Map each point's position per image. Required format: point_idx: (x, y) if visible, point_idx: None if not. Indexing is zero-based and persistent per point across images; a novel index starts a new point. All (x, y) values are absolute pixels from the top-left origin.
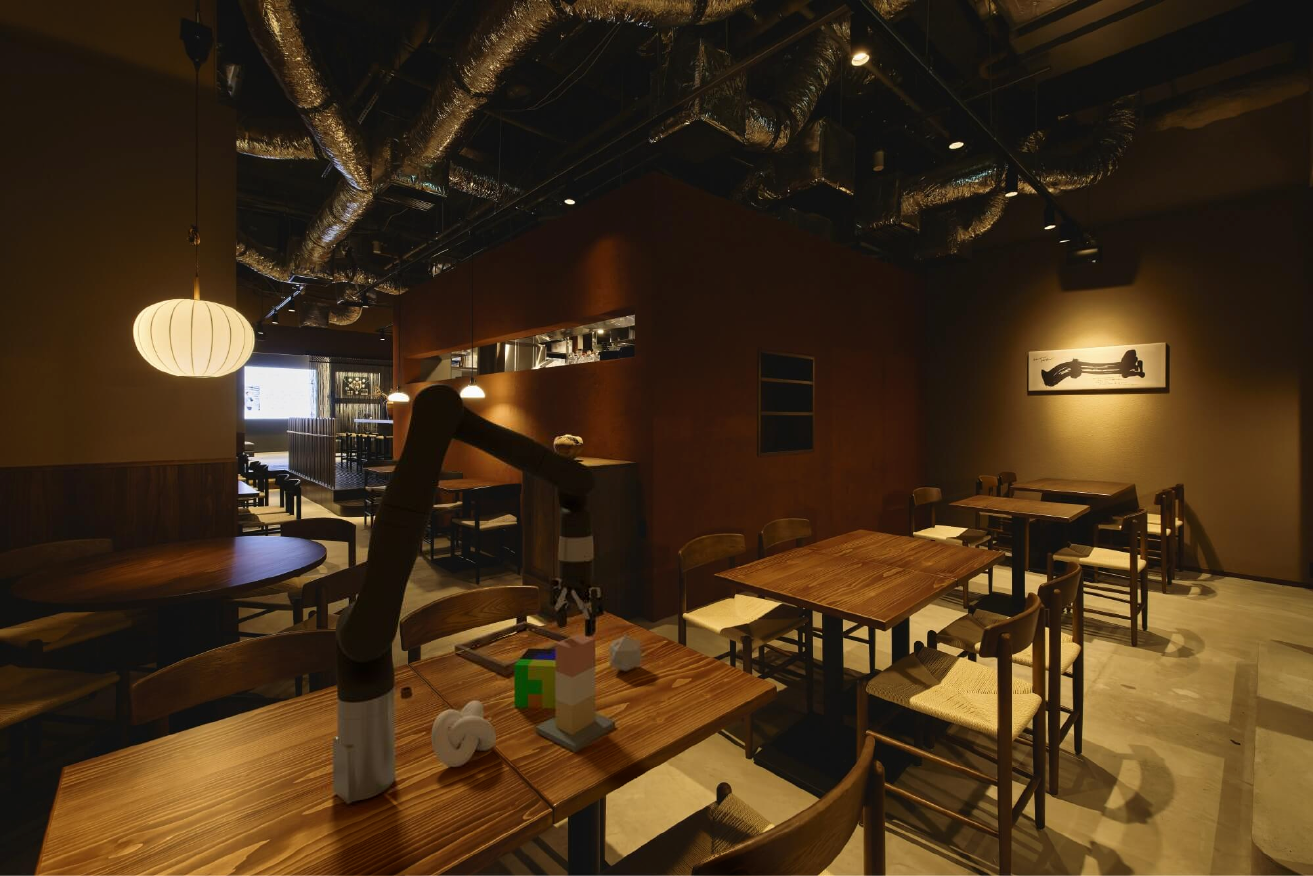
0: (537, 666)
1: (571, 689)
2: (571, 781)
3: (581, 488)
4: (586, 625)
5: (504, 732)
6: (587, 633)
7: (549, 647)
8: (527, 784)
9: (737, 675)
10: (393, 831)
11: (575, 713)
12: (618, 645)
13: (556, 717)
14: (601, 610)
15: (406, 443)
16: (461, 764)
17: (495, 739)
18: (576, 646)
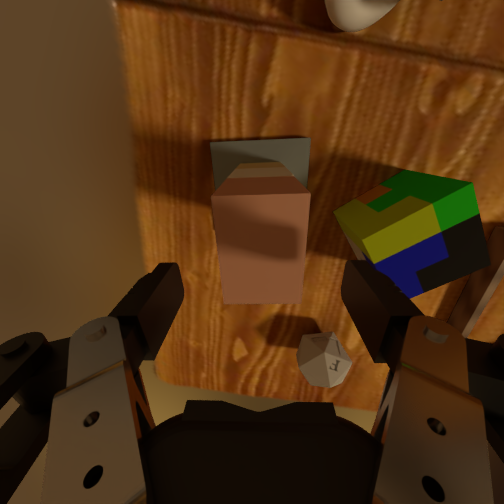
0: (406, 215)
1: (232, 173)
2: (150, 77)
3: None
4: (140, 290)
5: (360, 95)
6: (156, 269)
7: (469, 323)
8: (193, 5)
9: (201, 385)
10: None
11: None
12: (329, 364)
13: (280, 163)
14: (20, 413)
15: None
16: None
17: (327, 10)
18: (215, 223)
